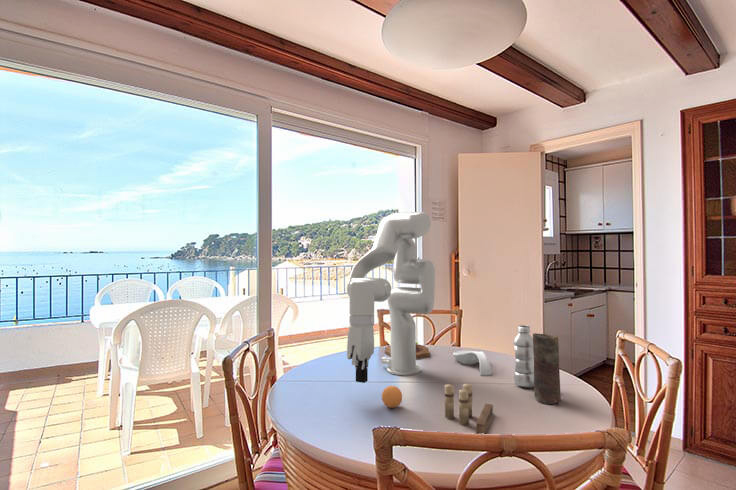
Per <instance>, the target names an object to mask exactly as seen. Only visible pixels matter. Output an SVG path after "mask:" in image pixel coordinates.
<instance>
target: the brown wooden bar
mask: <svg viewBox="0 0 736 490" xmlns="http://www.w3.org/2000/svg"><path fill="white" fill-rule="evenodd" d="M493 407H494V405H493V404H491V403H485V404H484V406H483V408H482V409H481V412H480V415H479V416H478V419H477V420H476V422H475V424H476V425H475V426H476V427H475V428H476V429H475V431H476V432H475V433H476V434H477V433H484V434H486V432H487V430H488V427H489V425H490V422H491V420H492V417H493V414H494V408H493Z"/></svg>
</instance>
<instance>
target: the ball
mask: <svg viewBox="0 0 736 490" xmlns="http://www.w3.org/2000/svg"><path fill="white" fill-rule="evenodd" d="M381 400H382V402H383V404H384V405H385V406H386V407H388V408H392V409H393V408H397V407H399V405H401V403H402V400H403V394H402V390H401V389H400V388H398V387H397V386H395V385H389V386H387V387H385V388H384V389H383V391H382V393H381Z"/></svg>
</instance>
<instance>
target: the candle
mask: <svg viewBox="0 0 736 490" xmlns="http://www.w3.org/2000/svg"><path fill="white" fill-rule="evenodd" d="M532 338H533V367H534V386H533V391H534V392H533V394H534V395H533V396H534V399H537V401H538V402H539V403H542V404H545V405H546V404H547V405H548V404H551V405H554V404H556V403H559V402H560V401H561V400H562V399H561V398H562V397H561V396H562V395H561V377H560V354H559V351H560V348H559V347H560V346H559V336H558V335H549V334H546V333H536V332H535V333H532Z"/></svg>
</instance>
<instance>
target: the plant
mask: <svg viewBox="0 0 736 490" xmlns="http://www.w3.org/2000/svg"><path fill="white" fill-rule="evenodd" d="M419 343H420V342H419V341H416V360H422V359H426V358H427V359H429V358H430V356H431V355H430V354H431V353H430V350H429V347H427V346H426V345H422V344H419ZM384 354H385V355H386V356H387V357H388V358H390V357H391V344H390V345H387V346H385V347H384Z"/></svg>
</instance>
